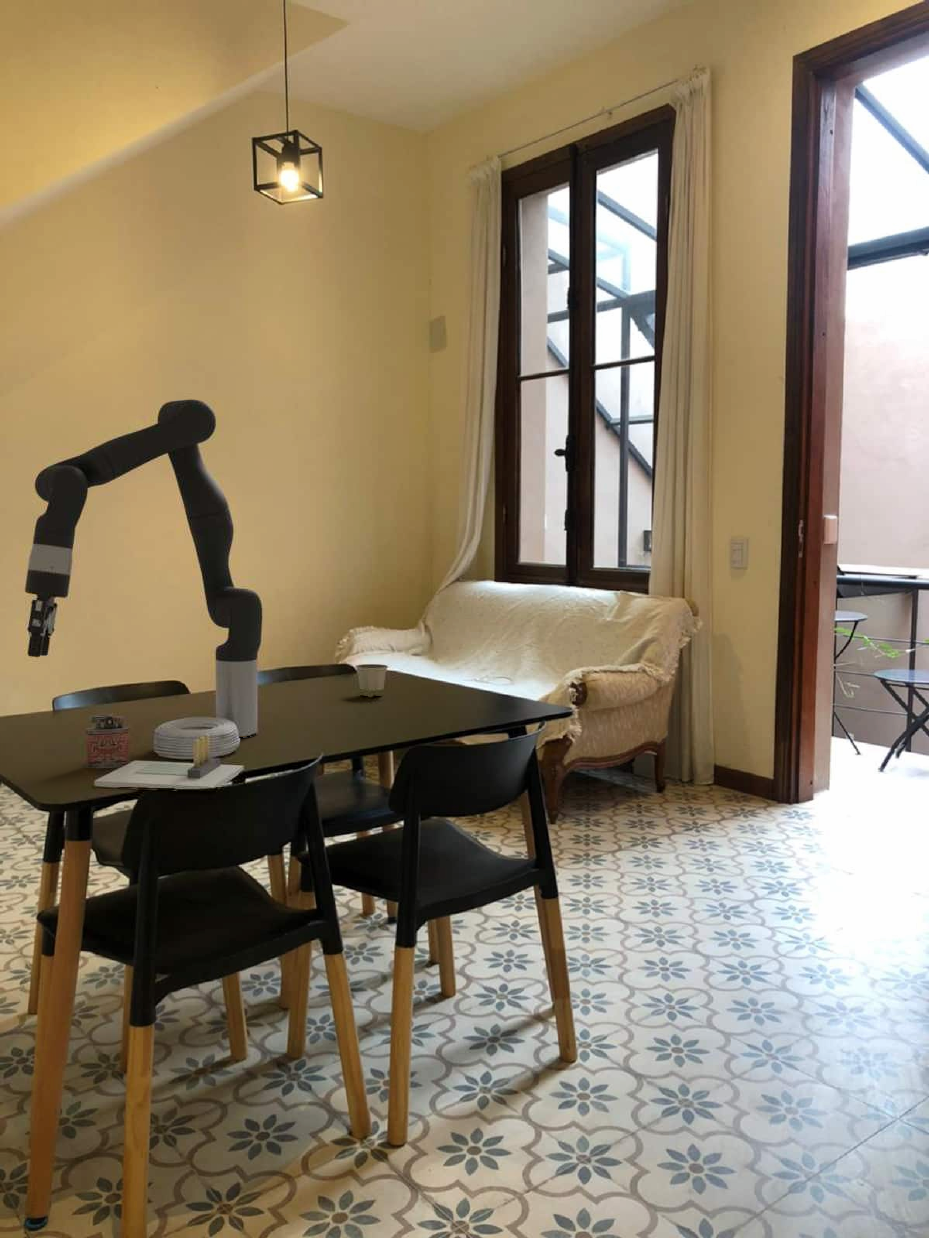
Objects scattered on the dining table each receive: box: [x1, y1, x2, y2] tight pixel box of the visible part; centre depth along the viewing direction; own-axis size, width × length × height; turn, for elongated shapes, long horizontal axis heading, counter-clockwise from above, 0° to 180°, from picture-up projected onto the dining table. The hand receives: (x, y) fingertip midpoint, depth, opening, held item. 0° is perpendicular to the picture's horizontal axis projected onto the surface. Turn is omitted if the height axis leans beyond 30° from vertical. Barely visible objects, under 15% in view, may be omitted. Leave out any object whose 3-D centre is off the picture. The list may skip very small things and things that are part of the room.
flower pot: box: [354, 663, 389, 691], centre depth 276 cm, size 9×9×9 cm
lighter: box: [85, 713, 131, 769], centre depth 189 cm, size 8×3×10 cm, turn 108°
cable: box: [153, 716, 241, 760], centre depth 203 cm, size 18×18×6 cm
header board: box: [94, 734, 245, 789], centre depth 180 cm, size 16×22×8 cm
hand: (37, 656), depth 183 cm, fingers open, 8 cm apart
